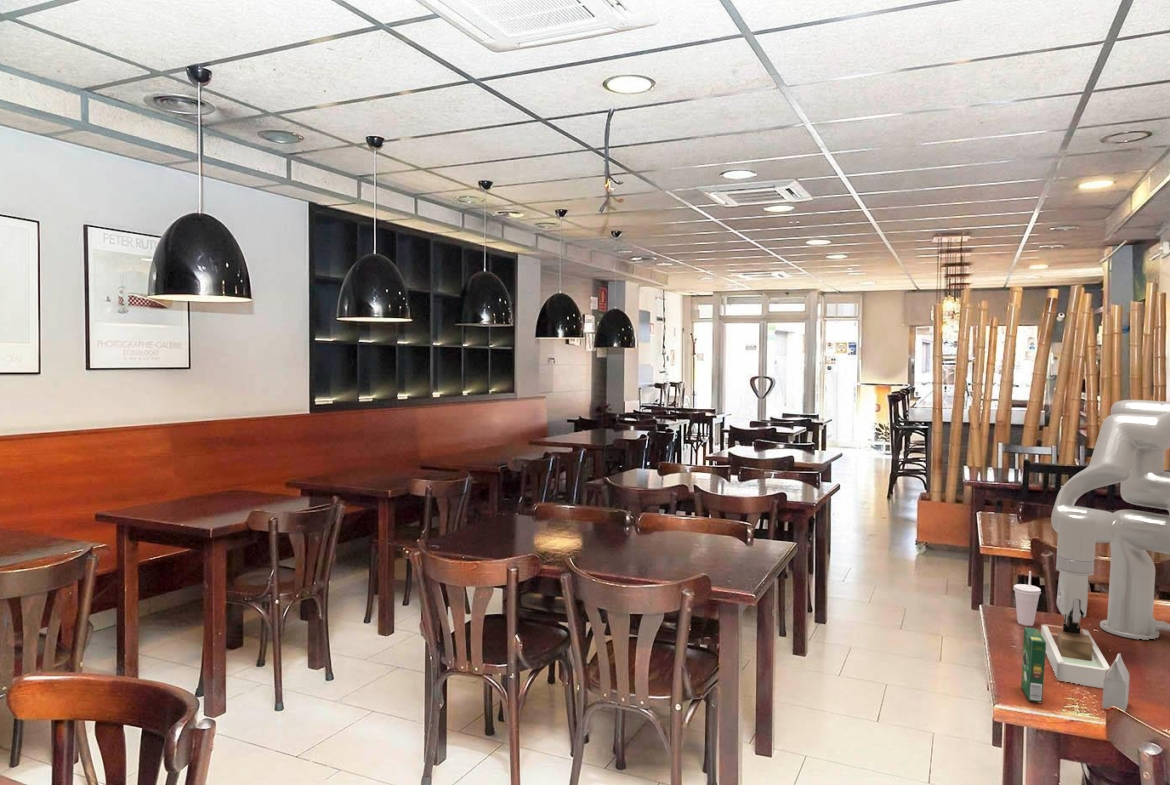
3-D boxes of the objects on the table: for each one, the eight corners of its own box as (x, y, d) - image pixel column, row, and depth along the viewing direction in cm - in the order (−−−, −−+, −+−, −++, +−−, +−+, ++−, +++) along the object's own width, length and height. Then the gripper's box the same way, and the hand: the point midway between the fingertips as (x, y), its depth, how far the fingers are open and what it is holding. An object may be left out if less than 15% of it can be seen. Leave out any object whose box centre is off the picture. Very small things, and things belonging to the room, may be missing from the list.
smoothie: (1044, 628, 205) (1047, 575, 204) (1019, 627, 205) (1022, 574, 204) (1031, 619, 211) (1033, 568, 211) (1007, 619, 212) (1009, 567, 211)
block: (1087, 652, 181) (1088, 635, 181) (1091, 661, 176) (1092, 643, 176) (1057, 647, 184) (1058, 630, 184) (1060, 656, 179) (1061, 638, 178)
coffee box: (1043, 704, 159) (1047, 641, 158) (1027, 702, 160) (1030, 639, 159) (1035, 689, 166) (1038, 628, 166) (1020, 686, 167) (1023, 626, 167)
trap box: (1086, 646, 193) (1087, 629, 192) (1111, 689, 167) (1112, 671, 167) (1040, 639, 196) (1041, 623, 196) (1057, 681, 171) (1058, 663, 171)
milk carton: (1128, 703, 160) (1130, 655, 160) (1124, 714, 155) (1127, 664, 155) (1106, 698, 163) (1109, 650, 162) (1102, 709, 158) (1104, 660, 157)
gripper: (1052, 556, 192) (1048, 629, 193) (1061, 570, 179) (1057, 650, 179) (1088, 559, 189) (1084, 634, 190) (1100, 575, 176) (1095, 656, 176)
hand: (1070, 642), depth 185 cm, fingers closed
